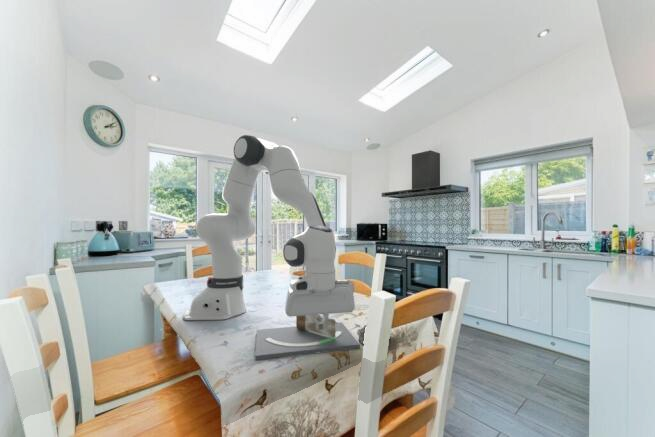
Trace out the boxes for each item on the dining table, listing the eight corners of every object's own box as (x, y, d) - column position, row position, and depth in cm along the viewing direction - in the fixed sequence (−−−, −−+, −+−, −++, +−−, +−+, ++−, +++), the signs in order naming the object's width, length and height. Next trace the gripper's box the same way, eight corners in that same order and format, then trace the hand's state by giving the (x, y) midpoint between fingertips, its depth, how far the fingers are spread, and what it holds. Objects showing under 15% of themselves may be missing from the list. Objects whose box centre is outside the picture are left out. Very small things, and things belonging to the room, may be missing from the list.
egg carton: (377, 349, 75) (377, 334, 76) (354, 343, 80) (354, 328, 80) (393, 337, 84) (393, 323, 84) (371, 331, 88) (371, 318, 89)
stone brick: (294, 327, 87) (294, 311, 87) (301, 324, 90) (301, 309, 90) (330, 339, 78) (330, 321, 78) (338, 335, 81) (338, 318, 81)
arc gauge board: (255, 359, 70) (255, 354, 70) (257, 333, 87) (257, 329, 87) (359, 348, 76) (359, 343, 76) (341, 325, 93) (341, 321, 94)
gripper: (351, 277, 85) (351, 322, 85) (284, 280, 81) (284, 327, 81) (357, 281, 79) (357, 329, 79) (286, 285, 75) (286, 336, 74)
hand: (320, 328), depth 80 cm, fingers closed
